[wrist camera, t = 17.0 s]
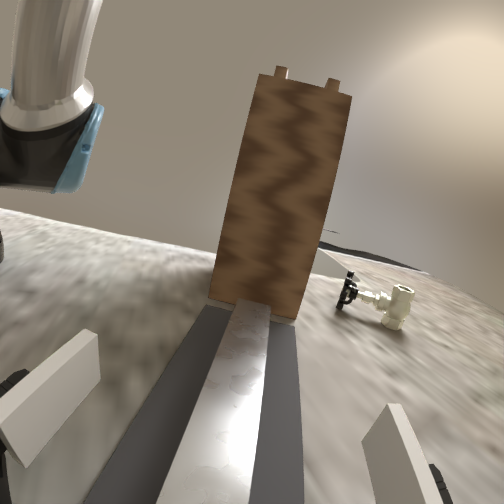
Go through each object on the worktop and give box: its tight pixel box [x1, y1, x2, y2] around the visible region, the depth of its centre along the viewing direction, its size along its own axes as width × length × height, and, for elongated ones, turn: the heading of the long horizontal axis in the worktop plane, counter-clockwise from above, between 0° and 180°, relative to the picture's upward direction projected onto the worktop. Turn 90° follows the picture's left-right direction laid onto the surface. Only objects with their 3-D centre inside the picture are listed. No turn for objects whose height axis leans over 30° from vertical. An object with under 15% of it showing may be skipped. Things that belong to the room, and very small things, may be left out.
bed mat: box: [83, 305, 304, 504], centre depth 19 cm, size 11×29×1 cm, turn 174°
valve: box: [336, 270, 415, 330], centre depth 42 cm, size 7×7×12 cm
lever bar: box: [156, 298, 271, 504], centre depth 17 cm, size 4×25×4 cm, turn 174°
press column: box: [208, 66, 352, 319], centre depth 41 cm, size 12×16×34 cm
